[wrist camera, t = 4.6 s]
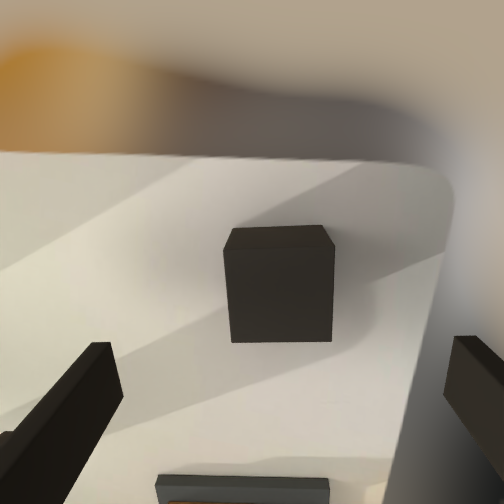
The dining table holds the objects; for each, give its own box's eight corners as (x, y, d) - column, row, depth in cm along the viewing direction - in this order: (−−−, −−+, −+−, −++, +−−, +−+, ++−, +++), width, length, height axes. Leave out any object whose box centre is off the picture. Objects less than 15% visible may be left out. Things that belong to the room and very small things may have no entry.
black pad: (322, 224, 21) (335, 245, 16) (320, 304, 23) (331, 342, 18) (232, 227, 21) (222, 249, 17) (238, 306, 23) (231, 343, 19)
